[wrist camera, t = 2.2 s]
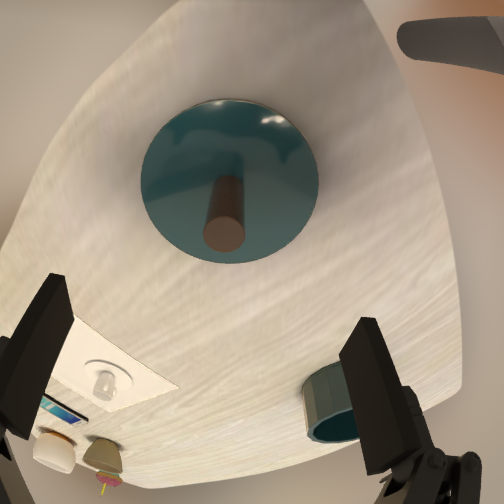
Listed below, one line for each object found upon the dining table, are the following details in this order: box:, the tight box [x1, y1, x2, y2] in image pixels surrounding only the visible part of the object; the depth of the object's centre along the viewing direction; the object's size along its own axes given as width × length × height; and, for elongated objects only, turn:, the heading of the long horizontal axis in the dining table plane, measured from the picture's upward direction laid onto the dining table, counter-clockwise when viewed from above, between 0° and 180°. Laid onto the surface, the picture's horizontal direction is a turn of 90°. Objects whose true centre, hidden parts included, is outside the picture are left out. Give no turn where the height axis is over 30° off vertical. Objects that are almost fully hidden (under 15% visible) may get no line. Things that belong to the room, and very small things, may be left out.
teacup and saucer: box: [83, 361, 134, 403], centre depth 40 cm, size 9×8×4 cm
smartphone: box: [40, 394, 88, 427], centre depth 50 cm, size 7×1×15 cm
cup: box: [33, 432, 76, 473], centre depth 59 cm, size 12×12×10 cm
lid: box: [141, 99, 319, 264], centre depth 23 cm, size 15×15×8 cm
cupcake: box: [96, 470, 122, 495], centre depth 70 cm, size 9×8×12 cm
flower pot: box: [82, 439, 122, 474], centre depth 58 cm, size 10×10×7 cm
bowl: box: [302, 361, 360, 443], centre depth 41 cm, size 14×14×8 cm
